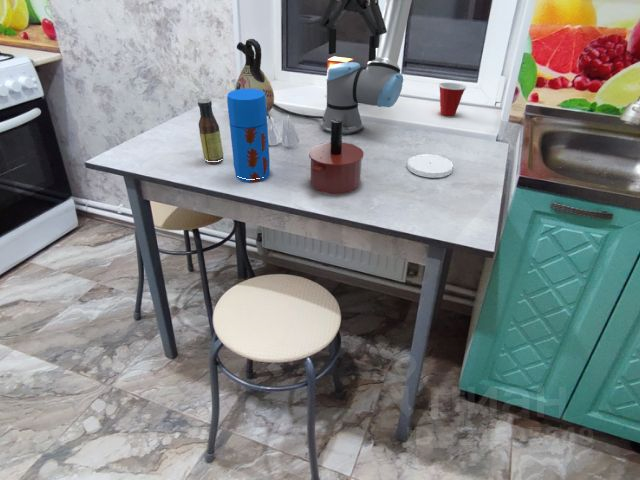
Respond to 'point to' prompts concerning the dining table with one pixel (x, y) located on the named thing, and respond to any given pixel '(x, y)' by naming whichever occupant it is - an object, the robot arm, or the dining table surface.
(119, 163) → the dining table surface
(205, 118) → the sauce bottle
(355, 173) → the pot
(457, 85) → the plastic cup
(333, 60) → the baking soda box
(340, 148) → the lid
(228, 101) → the thermos
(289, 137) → the shaker set
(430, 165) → the plastic lid
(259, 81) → the ceramic jug
